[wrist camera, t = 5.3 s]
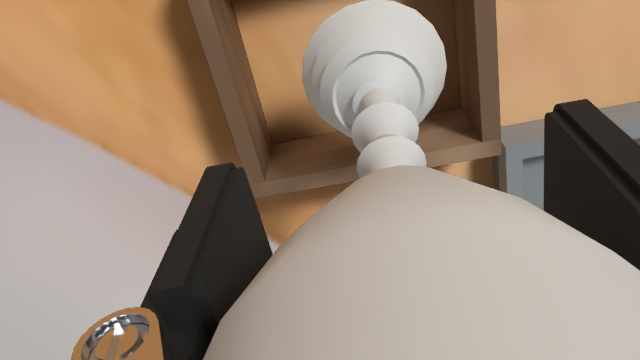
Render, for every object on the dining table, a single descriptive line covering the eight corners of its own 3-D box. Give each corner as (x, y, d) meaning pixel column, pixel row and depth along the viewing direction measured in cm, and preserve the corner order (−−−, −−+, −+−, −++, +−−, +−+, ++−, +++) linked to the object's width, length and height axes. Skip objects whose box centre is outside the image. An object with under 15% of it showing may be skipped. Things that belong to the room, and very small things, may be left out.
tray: (782, 75, 25) (819, 90, 23) (735, 262, 31) (762, 287, 29) (492, 128, 26) (505, 147, 25) (500, 297, 32) (511, 322, 30)
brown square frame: (461, -140, 21) (489, -145, 17) (478, 119, 26) (501, 154, 23) (190, -73, 22) (165, -66, 18) (262, 159, 28) (253, 199, 24)
